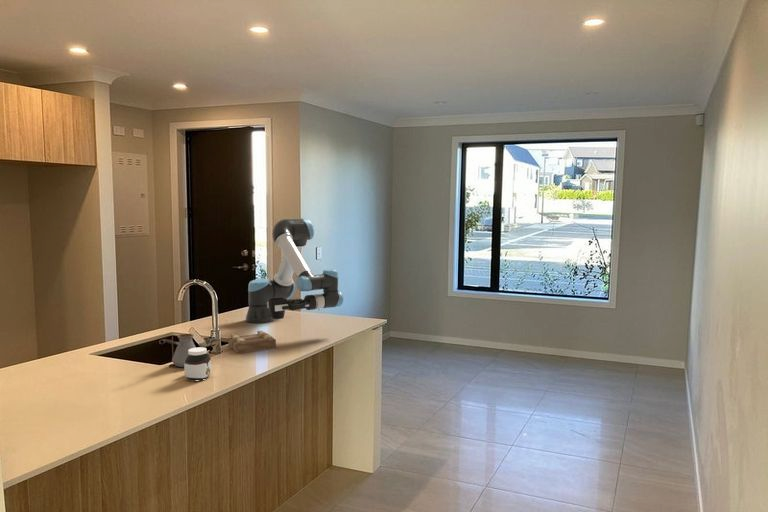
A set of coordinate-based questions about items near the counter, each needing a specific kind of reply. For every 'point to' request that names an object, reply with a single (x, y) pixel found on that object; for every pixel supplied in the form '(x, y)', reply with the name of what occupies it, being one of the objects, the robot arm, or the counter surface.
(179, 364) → the coffee pot
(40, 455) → the counter surface
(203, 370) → the spread jar
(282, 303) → the mug
